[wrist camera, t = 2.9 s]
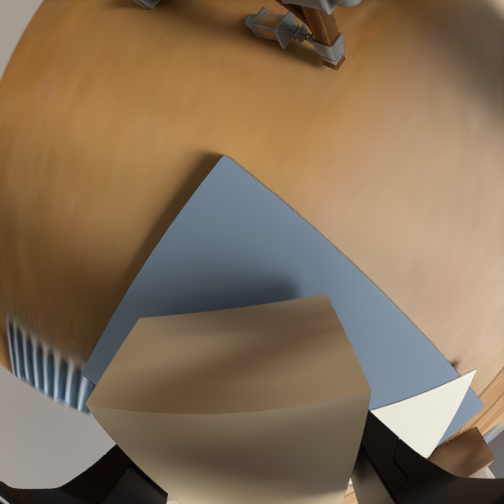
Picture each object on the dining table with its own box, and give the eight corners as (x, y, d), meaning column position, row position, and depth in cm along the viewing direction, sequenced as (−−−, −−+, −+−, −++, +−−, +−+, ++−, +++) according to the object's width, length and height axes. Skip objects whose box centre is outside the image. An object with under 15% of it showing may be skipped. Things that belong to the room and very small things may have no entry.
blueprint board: (85, 370, 12) (76, 383, 11) (247, 132, 8) (246, 127, 7) (363, 484, 16) (365, 493, 15) (490, 392, 13) (495, 400, 12)
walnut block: (476, 425, 15) (495, 458, 10) (456, 453, 17) (470, 483, 12) (437, 446, 15) (454, 484, 10) (419, 471, 17) (432, 503, 12)
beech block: (326, 293, 8) (371, 391, 4) (327, 436, 10) (340, 505, 7) (139, 317, 8) (85, 404, 5) (204, 447, 11) (194, 513, 7)
